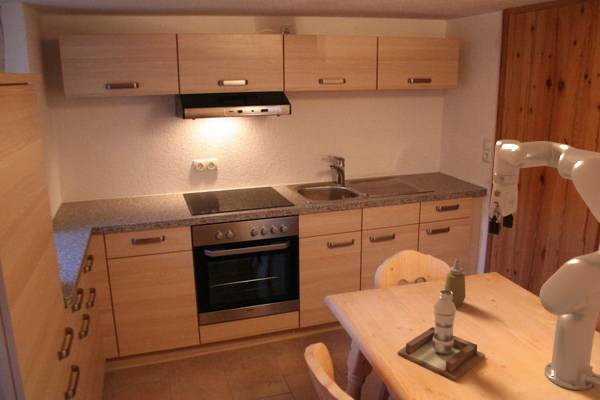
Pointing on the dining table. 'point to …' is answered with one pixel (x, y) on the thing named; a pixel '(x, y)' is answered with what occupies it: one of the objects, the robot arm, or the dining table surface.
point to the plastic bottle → (444, 323)
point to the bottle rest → (442, 355)
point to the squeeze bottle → (456, 284)
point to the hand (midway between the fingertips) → (500, 230)
